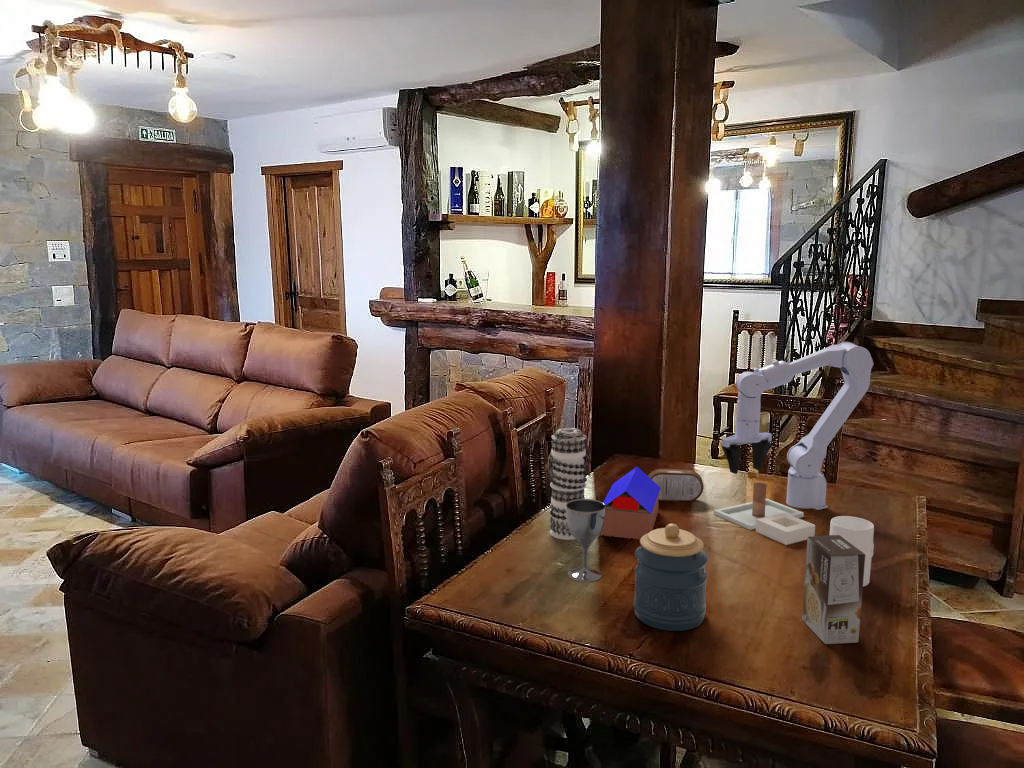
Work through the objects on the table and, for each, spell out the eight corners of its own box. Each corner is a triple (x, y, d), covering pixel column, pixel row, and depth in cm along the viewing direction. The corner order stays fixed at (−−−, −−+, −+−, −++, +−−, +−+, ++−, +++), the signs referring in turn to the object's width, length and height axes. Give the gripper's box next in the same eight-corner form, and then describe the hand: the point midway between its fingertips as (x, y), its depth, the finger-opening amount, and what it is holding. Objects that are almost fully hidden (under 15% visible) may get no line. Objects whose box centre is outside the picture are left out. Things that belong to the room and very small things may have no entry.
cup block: (783, 528, 181) (784, 512, 181) (814, 541, 174) (815, 524, 173) (755, 535, 177) (756, 519, 177) (785, 549, 169) (786, 532, 169)
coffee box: (860, 643, 130) (868, 554, 127) (824, 645, 129) (831, 556, 126) (833, 617, 139) (840, 534, 136) (799, 619, 138) (805, 535, 135)
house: (659, 512, 193) (661, 468, 191) (650, 542, 175) (652, 493, 172) (612, 508, 197) (613, 464, 195) (598, 536, 178) (599, 488, 176)
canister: (719, 626, 136) (723, 533, 132) (653, 637, 132) (656, 541, 129) (683, 594, 148) (686, 508, 145) (621, 604, 144) (623, 515, 141)
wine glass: (607, 569, 160) (609, 501, 157) (599, 585, 152) (600, 513, 149) (571, 564, 162) (571, 497, 159) (561, 579, 155) (561, 509, 152)
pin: (758, 512, 190) (760, 481, 188) (767, 516, 187) (769, 485, 185) (749, 514, 188) (751, 483, 187) (758, 518, 186) (760, 486, 184)
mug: (861, 564, 161) (866, 511, 159) (874, 589, 150) (879, 531, 147) (820, 561, 163) (824, 508, 161) (830, 585, 151) (834, 528, 149)
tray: (766, 505, 197) (766, 498, 197) (803, 520, 187) (804, 512, 186) (713, 517, 189) (713, 510, 188) (749, 533, 178) (749, 525, 178)
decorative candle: (565, 523, 186) (566, 423, 181) (595, 532, 179) (596, 430, 175) (540, 532, 180) (540, 430, 175) (569, 543, 173) (570, 437, 169)
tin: (702, 499, 203) (703, 469, 201) (703, 503, 200) (705, 472, 198) (644, 497, 204) (645, 467, 203) (645, 501, 201) (646, 471, 199)
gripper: (736, 425, 187) (733, 478, 189) (781, 419, 192) (778, 471, 195) (717, 419, 193) (715, 471, 195) (761, 414, 199) (759, 464, 201)
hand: (745, 470), depth 196 cm, fingers open, 7 cm apart
